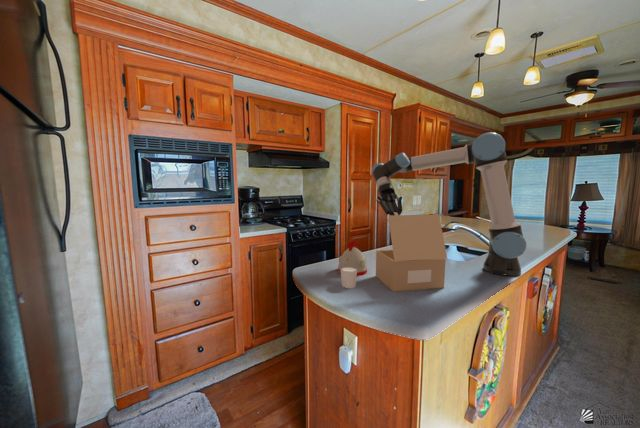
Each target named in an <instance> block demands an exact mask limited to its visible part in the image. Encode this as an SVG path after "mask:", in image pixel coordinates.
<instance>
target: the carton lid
mask: <svg viewBox="0 0 640 428" xmlns="http://www.w3.org/2000/svg"><path fill="white" fill-rule="evenodd" d="M387 217H388V225H389V232H390V238H391V247H392V250H393V255H394V261H407V260H427V259H445V260H446V259H448V257H447V256H448V255H447V251H446V245H445V239H444V233H443V229H442V223H441V217H440V214H405V215H403V214H402V215H401V214H400V215H391V216H389V215H387Z"/></svg>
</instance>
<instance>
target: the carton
mask: <svg viewBox="0 0 640 428" xmlns="http://www.w3.org/2000/svg"><path fill="white" fill-rule="evenodd" d="M375 255H376V256H375V277H376V278H377V279H378V280H379V281H380V282H382V283H383V284H384V285H385V286H386V287H387V289H389V290H391V291H392V293H393V292H407V291H421V290H435V289H444V288H445V276H446V274H445V273H446V259H427V260H407V261H394V255H393V249H381V250H376V251H375Z"/></svg>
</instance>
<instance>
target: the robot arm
mask: <svg viewBox="0 0 640 428" xmlns="http://www.w3.org/2000/svg"><path fill="white" fill-rule="evenodd" d="M506 146H507V145H506V141H505V138H503V135H501V134H499V133H496V132H485V133H483V134H480V135H478V136H477V137H476V138H475V139H474V141H473V142H471V143H468V144H465V145H464V146H462V147H458V148H453V149H447V150H442V151H437V152H431V153H426V154H421V155H415V156H409V157H408V156H407V155H406V153H405V152H400V153H398V154H396V155H395V156H394V157H392V158H391V159H389V160H388V161H386V162H385V163H383V162H378V163H375V164H374V165H373V166H372V167H371V173H372V177H373V179H374V182H375V184H376V188H377V190H378V191H377V192H378V194H379V196H378V195H377V198H376V200H375V201H376V202H377V203H378V204H379V206H381V209H382V210H383V211H384V213H385V214H386V215H387V216H391V215H401V214H402V212H403V204H402V203H403V202H402V199H403V196H398V194H397V193H396V190H395V187H394V186H393V182H392V180H391V177H393V176H394V175H396V174H398V173H401V174H406V173H409V172H414V171H420V170H426V169H427V170H428V169H432V168H439V167H444V166H450V165H458V164H463V163H465V164H467V165H469V164H474V166H475V169H476V170H478V171H480V175H481V178H482V179H481V180H482V184H483V188H484V194H485V199H486V203H487V209H488V213H489V217H490V223H491V224H490V225H489V226H488V232H489V238H488V239H489V241H488V254H487V255H486V257H485V260H484V262H483V266H482V268H483V270H484V269H485V270H484V271H486V272H488V271H489V272H488V273H491V272H492V274H494V273H497V274H496V275H499V274H506V275H511V276H510V277H517V276H521V275H522V268H521V264H520V261H519V258H518V257H521V256H522V255H523V254H524V253H525V252H526V249H527V241H526V238H525V237H524V236H523V230H522V225H521V223H519V222H518V221H516V218H515V213H514V209H513V204H512V199H511V194H510V189H509V186H508V180H507V176H506V174H507V173H506V170H505V165H506V163H507V162H508V159H507V153H506Z"/></svg>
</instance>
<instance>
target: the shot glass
mask: <svg viewBox="0 0 640 428" xmlns="http://www.w3.org/2000/svg"><path fill="white" fill-rule="evenodd" d="M357 277H358V276H357V269H356V268H352V267H344V268H341V273H340V279H341V287H342V286H343V288H344V287H345V288H346V289H354V288H355V287H357V286H356V285H357V283H356V282H357ZM345 288H344V289H345Z"/></svg>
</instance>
